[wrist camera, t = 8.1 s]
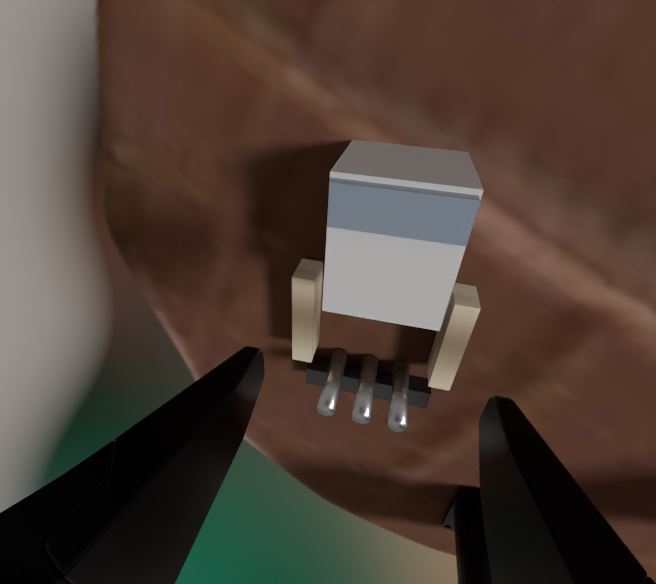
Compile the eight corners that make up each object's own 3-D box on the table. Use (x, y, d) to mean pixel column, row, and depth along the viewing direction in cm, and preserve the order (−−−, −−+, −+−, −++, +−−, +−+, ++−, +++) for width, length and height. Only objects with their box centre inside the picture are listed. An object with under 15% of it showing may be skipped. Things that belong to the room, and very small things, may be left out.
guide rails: (447, 365, 22) (449, 390, 21) (301, 337, 24) (292, 359, 22) (475, 286, 19) (480, 308, 17) (302, 258, 20) (291, 277, 18)
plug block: (435, 270, 19) (439, 339, 14) (342, 255, 20) (319, 317, 15) (467, 151, 15) (485, 195, 11) (353, 139, 16) (326, 175, 12)
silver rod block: (426, 393, 24) (426, 455, 20) (310, 369, 25) (291, 424, 22) (434, 366, 22) (437, 428, 19) (311, 342, 24) (291, 396, 20)
